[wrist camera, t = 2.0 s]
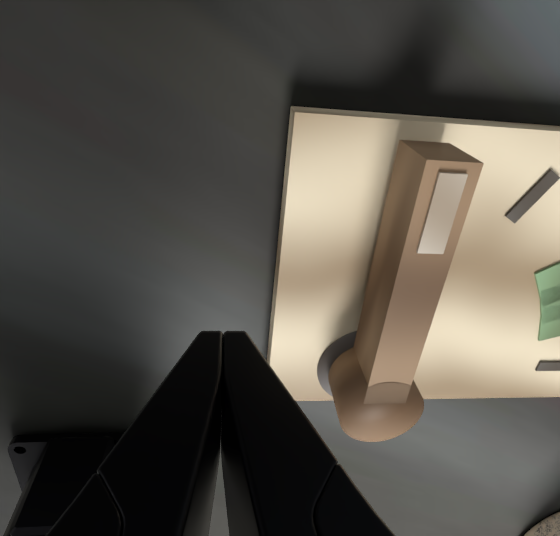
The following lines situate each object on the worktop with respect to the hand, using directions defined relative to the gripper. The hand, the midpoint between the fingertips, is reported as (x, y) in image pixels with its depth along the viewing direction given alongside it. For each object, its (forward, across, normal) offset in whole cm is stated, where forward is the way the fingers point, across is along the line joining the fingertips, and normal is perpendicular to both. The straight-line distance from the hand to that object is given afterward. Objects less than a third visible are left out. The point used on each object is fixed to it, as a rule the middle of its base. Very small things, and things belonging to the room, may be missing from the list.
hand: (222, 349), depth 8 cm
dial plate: (+8, -11, +3) cm, 14 cm away
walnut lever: (+6, -6, +3) cm, 9 cm away
